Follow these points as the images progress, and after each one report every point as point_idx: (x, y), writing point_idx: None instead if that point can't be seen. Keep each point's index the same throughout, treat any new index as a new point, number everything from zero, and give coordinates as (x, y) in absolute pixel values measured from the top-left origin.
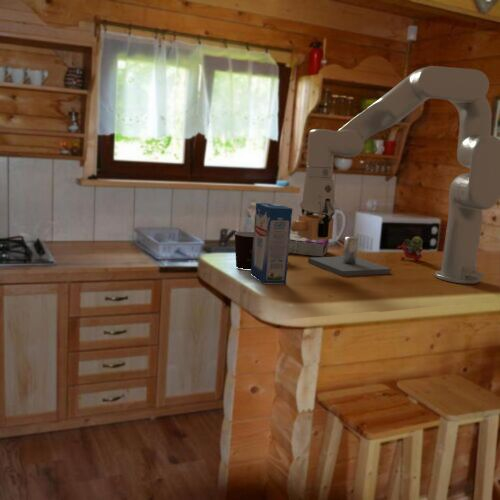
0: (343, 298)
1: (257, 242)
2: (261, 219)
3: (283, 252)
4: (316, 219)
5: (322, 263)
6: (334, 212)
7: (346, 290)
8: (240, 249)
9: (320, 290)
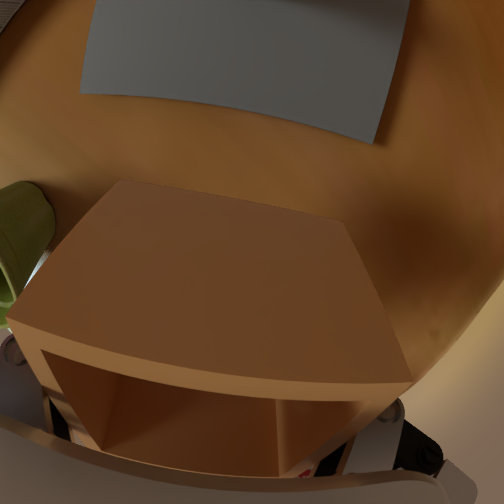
0: (458, 321)
1: None
2: None
3: None
4: (302, 468)
5: (201, 102)
6: (472, 486)
7: (449, 274)
8: None
9: (403, 327)
